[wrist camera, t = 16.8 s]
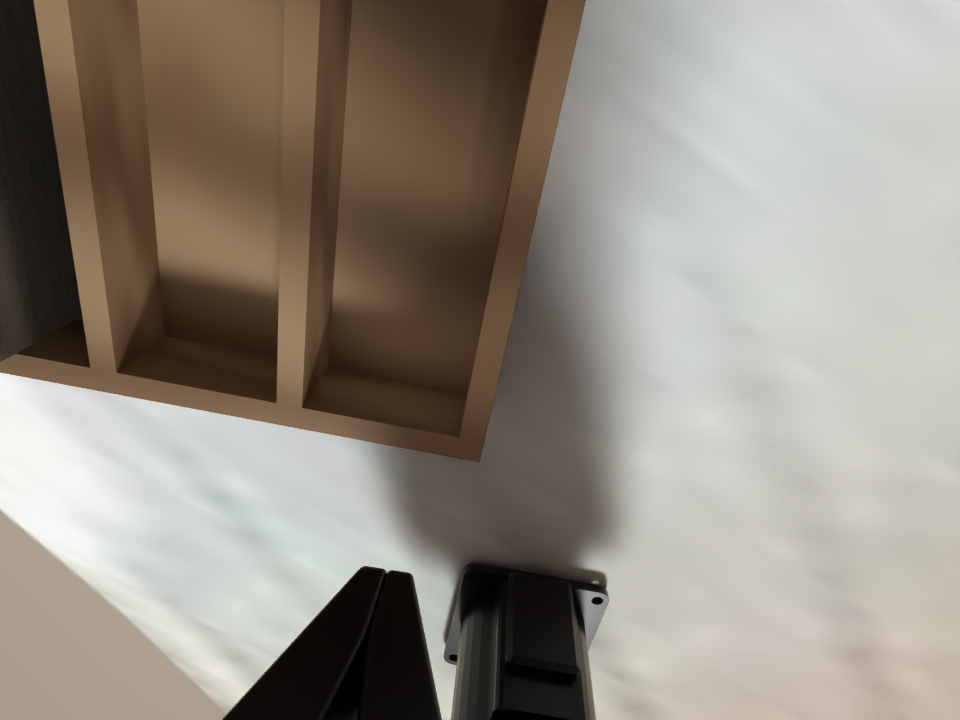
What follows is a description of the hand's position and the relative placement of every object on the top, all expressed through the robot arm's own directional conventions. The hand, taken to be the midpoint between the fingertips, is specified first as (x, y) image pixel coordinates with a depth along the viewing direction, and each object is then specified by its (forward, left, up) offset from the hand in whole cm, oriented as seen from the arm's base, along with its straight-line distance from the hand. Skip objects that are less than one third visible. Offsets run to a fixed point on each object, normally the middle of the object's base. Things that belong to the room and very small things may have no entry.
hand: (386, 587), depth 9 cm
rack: (+3, +7, -12) cm, 14 cm away
